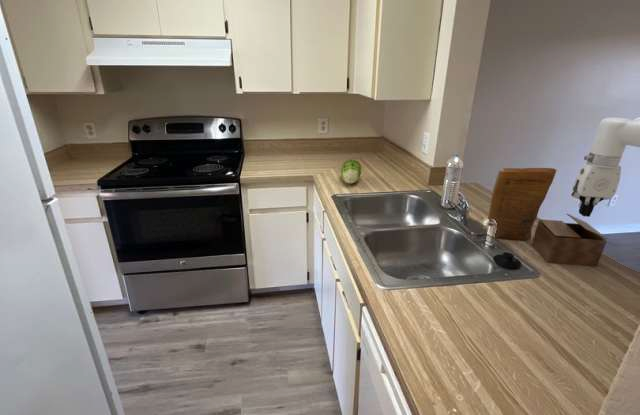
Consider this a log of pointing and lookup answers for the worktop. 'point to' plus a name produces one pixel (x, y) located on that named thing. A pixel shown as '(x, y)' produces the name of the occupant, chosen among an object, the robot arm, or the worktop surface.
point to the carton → (567, 243)
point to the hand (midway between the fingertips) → (584, 214)
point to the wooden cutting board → (518, 200)
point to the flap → (586, 226)
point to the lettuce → (351, 171)
